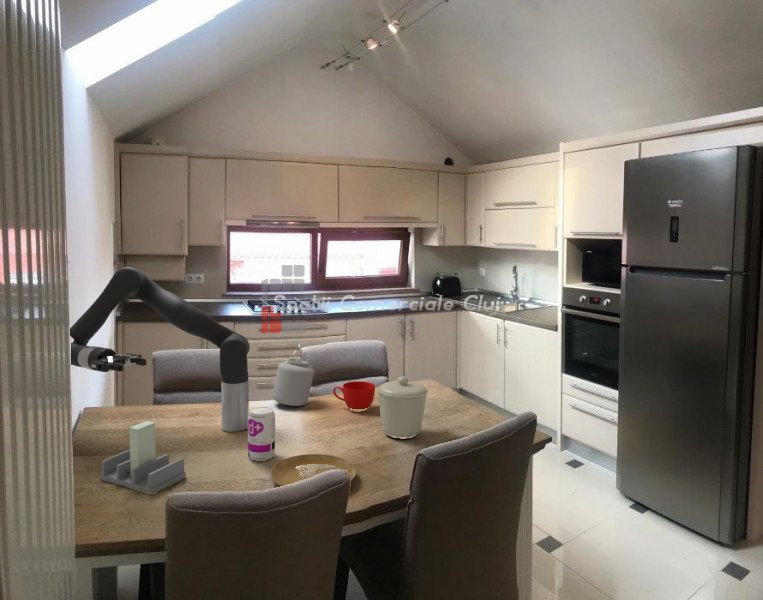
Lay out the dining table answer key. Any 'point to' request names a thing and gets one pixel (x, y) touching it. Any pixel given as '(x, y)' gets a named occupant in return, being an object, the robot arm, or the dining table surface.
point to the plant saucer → (289, 474)
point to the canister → (402, 407)
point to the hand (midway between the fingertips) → (134, 365)
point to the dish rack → (142, 472)
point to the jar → (293, 382)
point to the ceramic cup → (357, 394)
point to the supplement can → (261, 433)
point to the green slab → (142, 444)
